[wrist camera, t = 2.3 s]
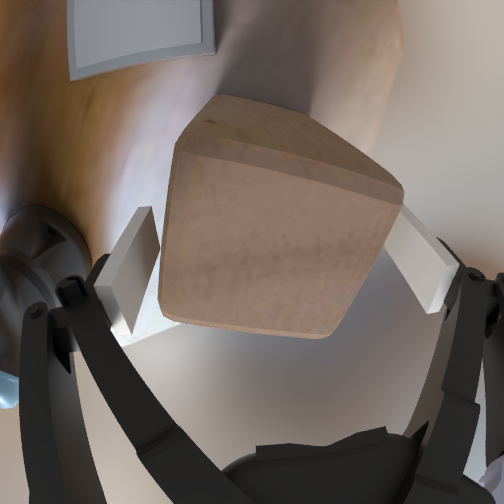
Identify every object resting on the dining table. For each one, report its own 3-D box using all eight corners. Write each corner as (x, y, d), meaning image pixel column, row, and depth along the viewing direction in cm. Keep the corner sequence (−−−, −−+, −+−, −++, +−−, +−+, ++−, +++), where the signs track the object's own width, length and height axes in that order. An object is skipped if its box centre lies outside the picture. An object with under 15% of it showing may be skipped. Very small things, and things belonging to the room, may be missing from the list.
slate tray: (83, 79, 23) (69, 81, 20) (81, -30, 15) (68, -36, 13) (215, 54, 24) (213, 52, 21) (212, -60, 16) (210, -72, 13)
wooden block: (213, 91, 26) (174, 123, 9) (310, 115, 28) (419, 189, 11) (194, 182, 31) (153, 325, 14) (283, 200, 33) (332, 347, 16)
